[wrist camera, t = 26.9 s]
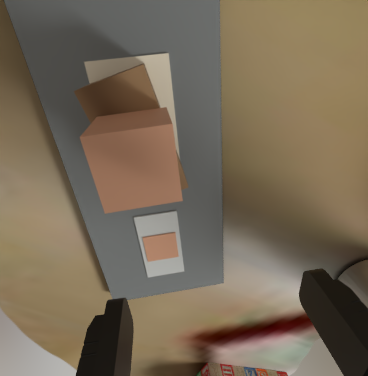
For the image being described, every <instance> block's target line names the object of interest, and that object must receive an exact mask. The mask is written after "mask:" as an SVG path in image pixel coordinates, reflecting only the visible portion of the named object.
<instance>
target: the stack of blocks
mask: <svg viewBox="0 0 368 376" xmlns="http://www.w3.org/2000/svg"><path fill="white" fill-rule="evenodd" d="M196 376H288V375H287V373H286V372H279V371H273V370H265V369H258V368H248V367H239V366H232V365H224V364H217V363H209V362H208V363H207V364H206V365H205V366H204V367H203V368H202V369H201V371H200V372H199V373H198V374H197V375H196Z"/></svg>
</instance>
